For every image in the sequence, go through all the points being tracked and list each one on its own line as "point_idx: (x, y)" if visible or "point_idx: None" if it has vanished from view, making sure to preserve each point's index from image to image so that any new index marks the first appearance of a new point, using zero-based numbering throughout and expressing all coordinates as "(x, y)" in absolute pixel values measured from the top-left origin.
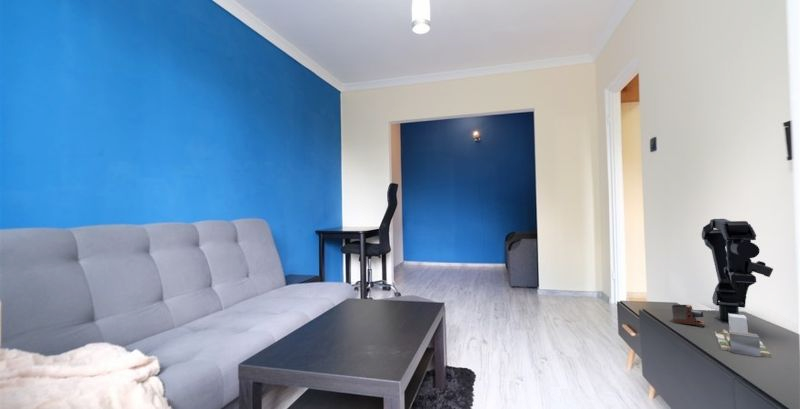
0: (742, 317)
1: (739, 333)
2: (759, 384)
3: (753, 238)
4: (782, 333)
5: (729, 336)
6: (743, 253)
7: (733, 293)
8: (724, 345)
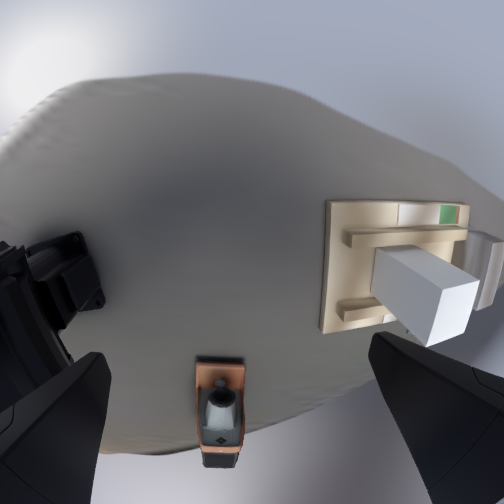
0: (471, 294)
1: (491, 285)
2: None
3: None
4: (147, 98)
5: None
6: None
7: (14, 351)
8: None
